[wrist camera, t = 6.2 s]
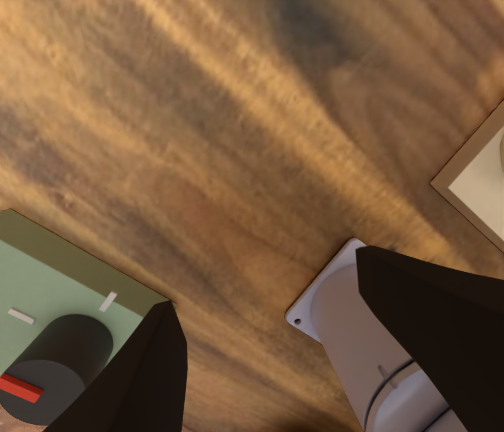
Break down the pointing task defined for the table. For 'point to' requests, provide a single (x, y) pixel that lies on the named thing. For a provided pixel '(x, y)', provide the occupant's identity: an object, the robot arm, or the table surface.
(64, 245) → the panel
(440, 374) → the robot arm
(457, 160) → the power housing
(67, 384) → the knob
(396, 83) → the table surface
